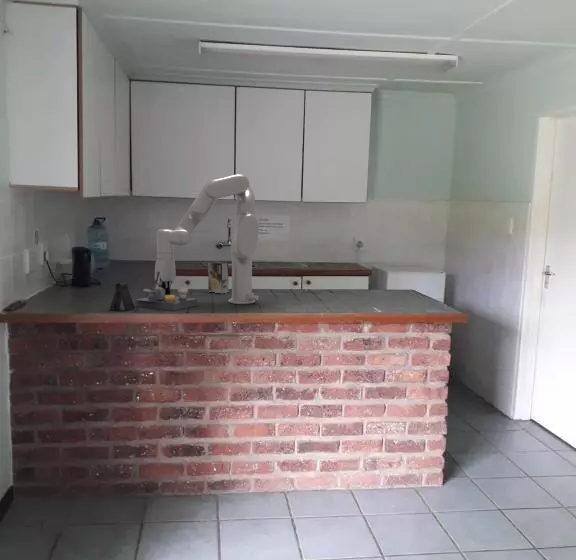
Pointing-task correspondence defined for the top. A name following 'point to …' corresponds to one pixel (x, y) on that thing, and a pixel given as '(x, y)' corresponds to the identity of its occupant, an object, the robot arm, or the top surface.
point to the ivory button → (182, 293)
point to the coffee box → (218, 277)
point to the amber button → (169, 298)
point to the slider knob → (160, 293)
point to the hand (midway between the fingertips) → (166, 296)
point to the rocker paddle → (150, 291)
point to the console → (165, 303)
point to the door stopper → (122, 298)
